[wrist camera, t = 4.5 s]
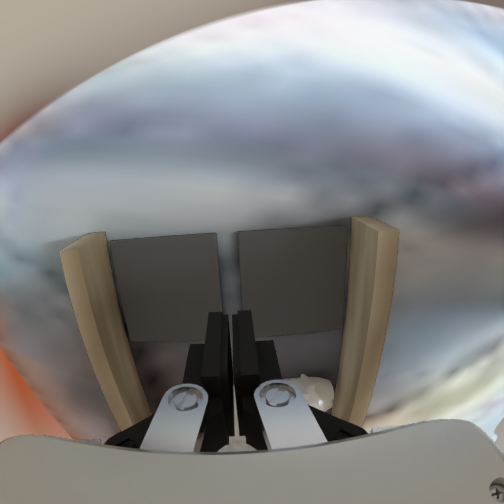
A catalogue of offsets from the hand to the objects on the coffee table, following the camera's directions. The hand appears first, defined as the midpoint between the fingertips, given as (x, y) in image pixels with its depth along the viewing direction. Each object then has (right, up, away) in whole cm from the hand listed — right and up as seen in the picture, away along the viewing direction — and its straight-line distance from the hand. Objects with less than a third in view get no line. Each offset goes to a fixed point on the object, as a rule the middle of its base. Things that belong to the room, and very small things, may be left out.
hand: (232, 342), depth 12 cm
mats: (0, +2, +3) cm, 4 cm away
